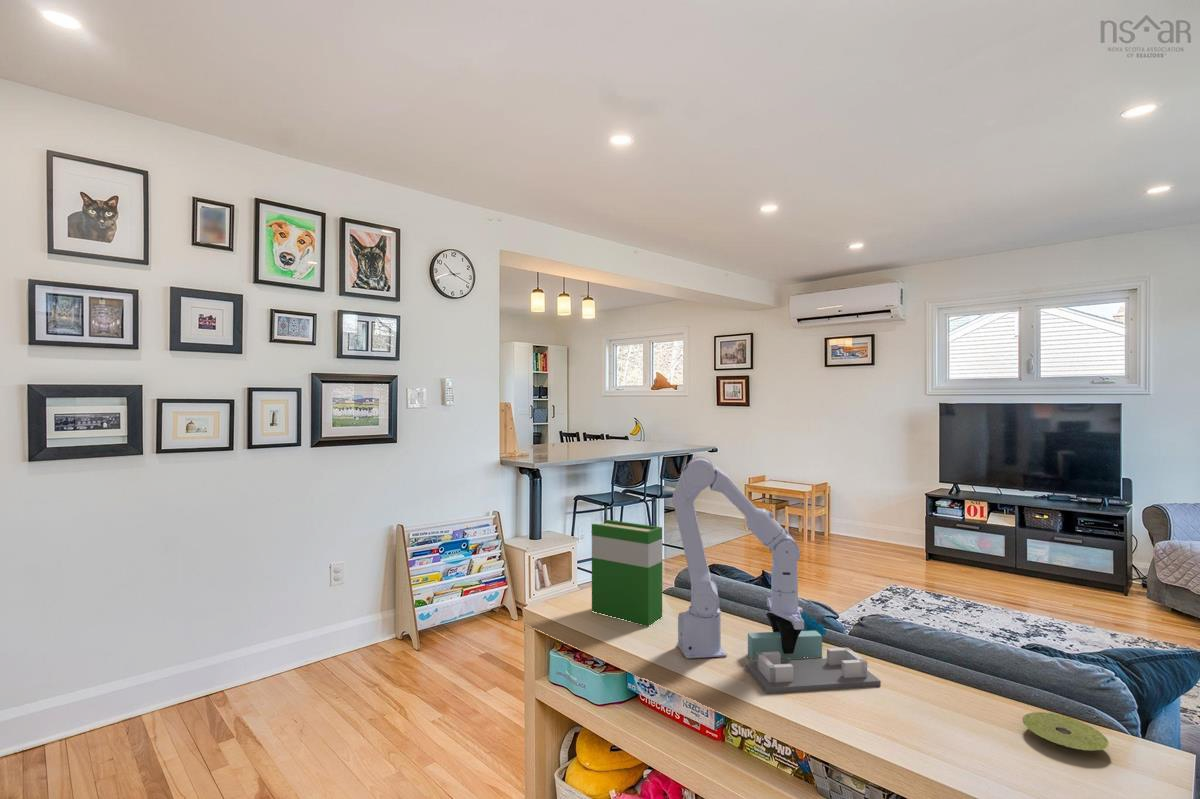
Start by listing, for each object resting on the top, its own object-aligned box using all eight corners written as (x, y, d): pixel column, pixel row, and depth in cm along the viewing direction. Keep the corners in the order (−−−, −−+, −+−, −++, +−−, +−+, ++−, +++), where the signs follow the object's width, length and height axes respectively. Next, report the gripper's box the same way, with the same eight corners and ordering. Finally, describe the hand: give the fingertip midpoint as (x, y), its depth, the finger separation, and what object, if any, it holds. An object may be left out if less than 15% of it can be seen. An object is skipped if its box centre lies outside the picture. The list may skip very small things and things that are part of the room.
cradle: (766, 693, 112) (766, 672, 112) (745, 667, 123) (745, 649, 123) (880, 685, 115) (880, 665, 115) (850, 661, 126) (849, 643, 126)
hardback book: (591, 612, 156) (591, 524, 156) (606, 604, 162) (606, 519, 162) (648, 627, 146) (648, 532, 146) (662, 618, 152) (662, 527, 152)
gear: (835, 635, 137) (813, 610, 134) (826, 657, 134) (803, 633, 131) (796, 626, 146) (775, 603, 143) (787, 647, 143) (765, 624, 140)
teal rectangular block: (752, 661, 127) (752, 638, 127) (747, 655, 130) (747, 632, 130) (822, 658, 128) (822, 635, 128) (815, 652, 131) (815, 630, 131)
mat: (1111, 741, 96) (1111, 729, 96) (1105, 771, 88) (1105, 758, 88) (1029, 715, 104) (1028, 704, 104) (1016, 740, 96) (1016, 729, 97)
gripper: (817, 599, 123) (817, 662, 122) (786, 578, 137) (787, 635, 137) (786, 600, 122) (786, 664, 122) (758, 579, 136) (758, 637, 136)
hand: (784, 649), depth 129 cm, fingers closed on teal rectangular block, 3 cm apart
